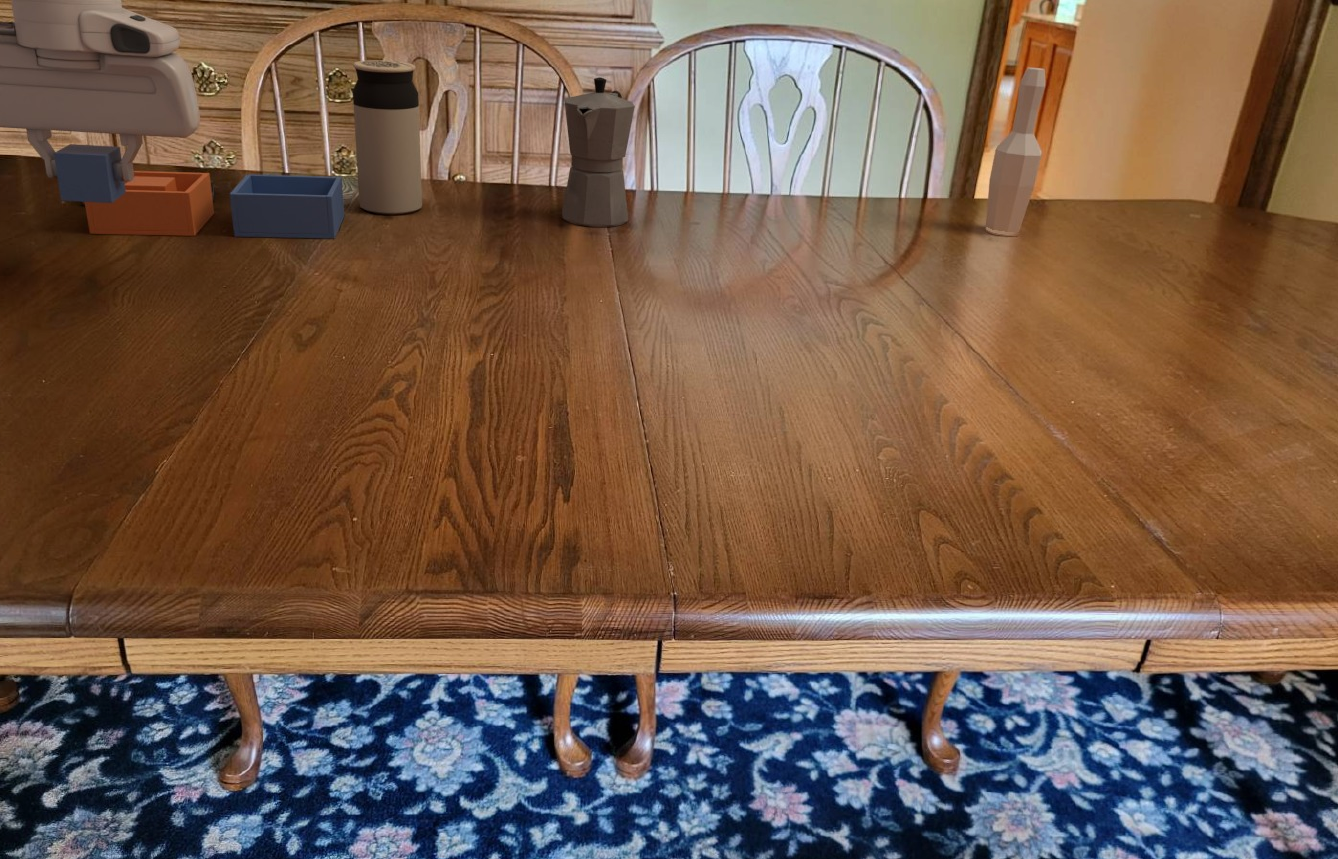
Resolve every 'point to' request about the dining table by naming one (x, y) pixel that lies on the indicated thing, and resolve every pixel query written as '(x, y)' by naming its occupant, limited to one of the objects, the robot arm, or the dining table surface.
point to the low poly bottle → (1016, 160)
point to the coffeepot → (597, 157)
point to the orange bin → (156, 208)
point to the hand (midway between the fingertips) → (92, 178)
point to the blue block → (88, 173)
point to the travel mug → (387, 137)
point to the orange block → (152, 184)
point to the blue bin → (287, 206)
